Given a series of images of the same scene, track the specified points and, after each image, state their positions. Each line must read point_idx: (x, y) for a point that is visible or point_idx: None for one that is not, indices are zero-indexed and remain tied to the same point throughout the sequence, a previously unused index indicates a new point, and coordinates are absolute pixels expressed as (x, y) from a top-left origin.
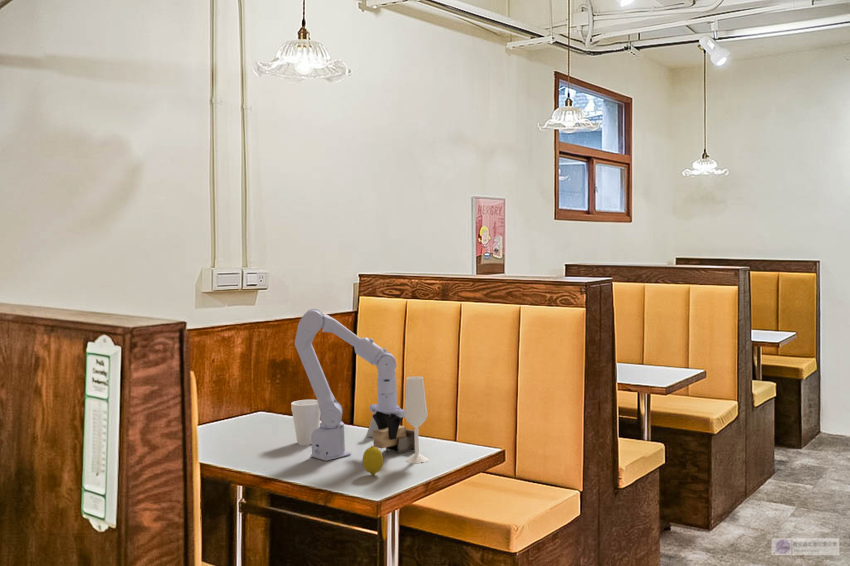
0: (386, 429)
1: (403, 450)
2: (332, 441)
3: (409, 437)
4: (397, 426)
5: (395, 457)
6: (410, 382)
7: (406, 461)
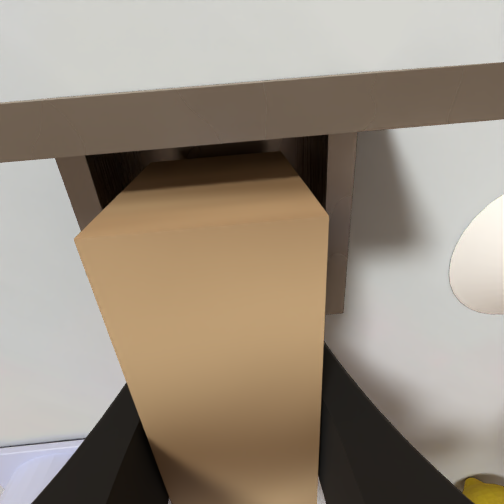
0: (244, 479)
1: None
2: None
3: (351, 153)
4: (403, 467)
5: (357, 306)
6: None
7: (480, 311)
